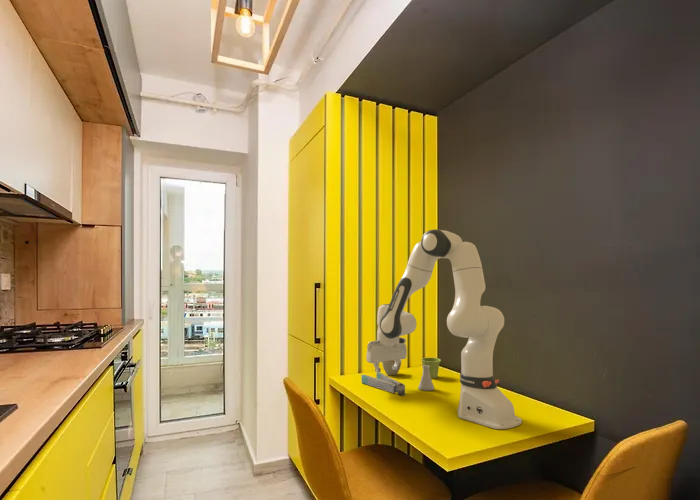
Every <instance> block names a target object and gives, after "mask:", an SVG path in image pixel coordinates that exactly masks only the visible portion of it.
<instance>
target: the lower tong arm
mask: <svg viewBox="0 0 700 500" xmlns="http://www.w3.org/2000/svg"><path fill="white" fill-rule="evenodd" d="M376 378H377V379H380V380H383V381H387V382H390V383H393V384H396V392H397V385H398V384H400V383H401V382H399V381H398V380H396V379H394V378H391V377H390V376H389V375H387V374H384V373H382V372H378V373H377V372H376Z"/></svg>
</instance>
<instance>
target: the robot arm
mask: <svg viewBox="0 0 700 500" xmlns="http://www.w3.org/2000/svg"><path fill="white" fill-rule="evenodd" d="M439 259H443V260H447V259H448V260H449V262H450V264H451V269H452V275H453V276H452V277H453V283H454V291H455V293H454V302H453V306H452V309H451V310H450V312H449V313H448V315H447V316H446V327H447V330H448V331H449V332H450V333H451V335H453V336H455V337H459V338H466V339H467V338H468V339H467V343H466V344H465V346H464V347H463V348H462V350H461V353H460V358H461V359H460V360H461V361H460V364H461V365H460V367H461V368H460V369H461V371H460V373H459V379H460V380H459V382H460V385H461V386H460V396H459V402H458V406H457V412H456V413H458V414H457V417H458V418H460V419H462V420H466V421H469V422H472V423H474V424H478V425H481V426H485V427H488V428H492V429H494V430H507V429H512V428H514V427H518V426H520V425H521V424H522V422H523V421H522V420H523V419H522V418H521V417H518V416H517V415H516V414H515V408H514V405H513V403H512V401H510V399H509V398H508V397H507V396H506V395H505V394H504V392H502V390H500V389H499V388H498V383H500V379H496V378H495V376H494V374H493V373H494V371H493V369H494V368H493V367H494V365H493V363H494V361H493V357H494V349H495V345H496V342H497V338H498V336H499V333H500V332H501V330H502V329H503V328H504V326H505V316H504V314H503V312H502V311H501V310H500V309H498V308H497V307H494V306H489V305H481V299H482V295H483V294H484V292H485V290H486V282H485V275H484V271H483V265H482V261H481V258H480V255H479V251H478V248H477V247H476V245H475V244H474V243H472V242H469V241H466V240H465V238H464V237H463V236H462V235H460V234H458V233H454V232H451V231H448V230H444V229H443V230H442V229H430V230H428V231H426V232H424V234H423V235H422V237H421V240H420V241H419V242H417V243H416V244H415V245H414V247H413V249H412V251H411V253H410V255H409V258H408V261H407V264H406V267H405V270H404V273H403V275H402V277H401V278H400V279H399V282H398V283H397V286H396V287H395V290H394V292H393V295H392V297H391V299H390V302H389V303H386V304H381V305H380V306H379V307H378V309H377V317H376V318H377V320H376V324H377V332H376V334H377V335H376V340H371V341H369V342H368V344H367V346H366V347H367V350H366V355H365V357H366V362H368V363H370V364H373V366H374V368H375V373H376V374H377V373H379V372H380V373H382V371H381V368H380V367H379V363H382V362H385V361H393V360H394V361H395V364H394V365H393V370H397V369H398V364H399V362H400V360H405V359H406V358H407V356H408V355H407V354H408V353H407V352H408V350H407V345H406V342H407V339H406V338H404V337H402V336H405V335H409V334H412V333H414V331H416V328H417V320H416V317H415V316H414V314H413V313H410V312H407V311H405V310H404V309H405V308H406V305H407V302H408V300H409V299H410V297H411V296H412V295H413V294H414V293H415V292H418V291H419V290H420V289H423V288H425V287H426V286H427V285H428V283H429V282H430V280H431V279H432V275H433V271H434V268H435V264H436V262H437V261H438V260H439Z"/></svg>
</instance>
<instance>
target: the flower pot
mask: <svg viewBox="0 0 700 500" xmlns="http://www.w3.org/2000/svg"><path fill="white" fill-rule="evenodd" d="M381 364H382V368H383V370H384V372H385V375H386V376H390V375H395V376H397V375H398V373H399V372H400V369H401V366H402V359H400V362H399V364H398V369H397V370H393V365H394V364H395V361H394V360H393V361H385V362H381Z"/></svg>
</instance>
